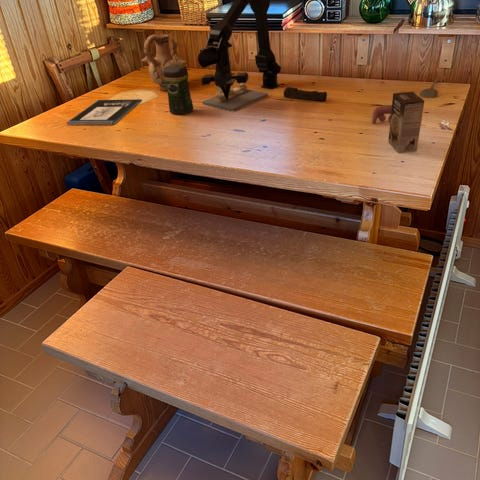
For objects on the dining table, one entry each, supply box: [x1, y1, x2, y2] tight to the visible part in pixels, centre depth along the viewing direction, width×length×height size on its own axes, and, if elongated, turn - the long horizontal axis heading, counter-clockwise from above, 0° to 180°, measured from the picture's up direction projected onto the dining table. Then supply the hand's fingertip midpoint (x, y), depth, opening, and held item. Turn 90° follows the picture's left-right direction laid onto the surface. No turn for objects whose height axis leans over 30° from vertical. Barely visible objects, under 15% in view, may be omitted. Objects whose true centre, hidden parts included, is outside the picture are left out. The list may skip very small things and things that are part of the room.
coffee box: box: [387, 91, 425, 154], centre depth 143 cm, size 9×6×16 cm
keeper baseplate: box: [202, 83, 269, 112], centre depth 197 cm, size 22×18×5 cm
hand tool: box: [283, 86, 328, 103], centre depth 191 cm, size 19×4×5 cm, turn 57°
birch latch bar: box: [214, 84, 248, 102], centre depth 199 cm, size 18×4×2 cm, turn 138°
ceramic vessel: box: [141, 33, 187, 91], centre depth 214 cm, size 18×19×25 cm
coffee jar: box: [163, 65, 194, 115], centre depth 187 cm, size 10×8×19 cm
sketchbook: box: [66, 98, 142, 127], centre depth 200 cm, size 22×30×2 cm
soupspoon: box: [419, 78, 440, 99], centre depth 188 cm, size 22×3×7 cm
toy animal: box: [371, 104, 392, 125], centre depth 163 cm, size 10×5×7 cm, turn 72°
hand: (227, 99), depth 194 cm, fingers closed
